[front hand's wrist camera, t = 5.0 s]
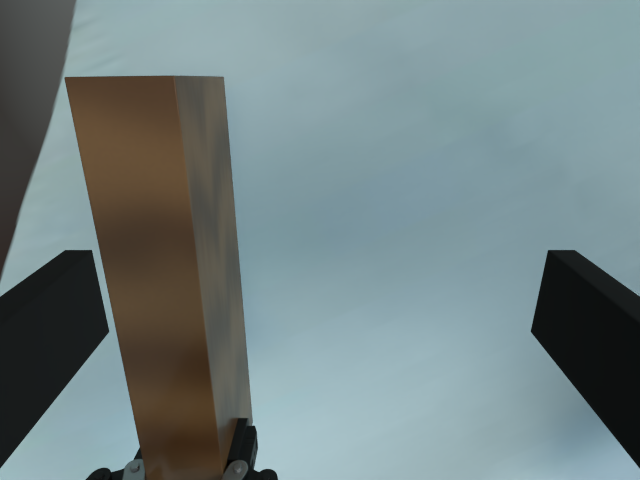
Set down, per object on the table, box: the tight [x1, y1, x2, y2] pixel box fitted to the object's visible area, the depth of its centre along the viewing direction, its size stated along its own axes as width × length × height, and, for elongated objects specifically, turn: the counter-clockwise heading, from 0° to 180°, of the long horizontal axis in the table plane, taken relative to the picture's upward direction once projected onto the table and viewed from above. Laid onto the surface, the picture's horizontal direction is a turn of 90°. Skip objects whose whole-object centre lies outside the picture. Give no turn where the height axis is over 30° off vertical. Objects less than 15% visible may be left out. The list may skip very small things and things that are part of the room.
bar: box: [65, 76, 253, 480], centre depth 26 cm, size 26×4×9 cm, turn 1°
